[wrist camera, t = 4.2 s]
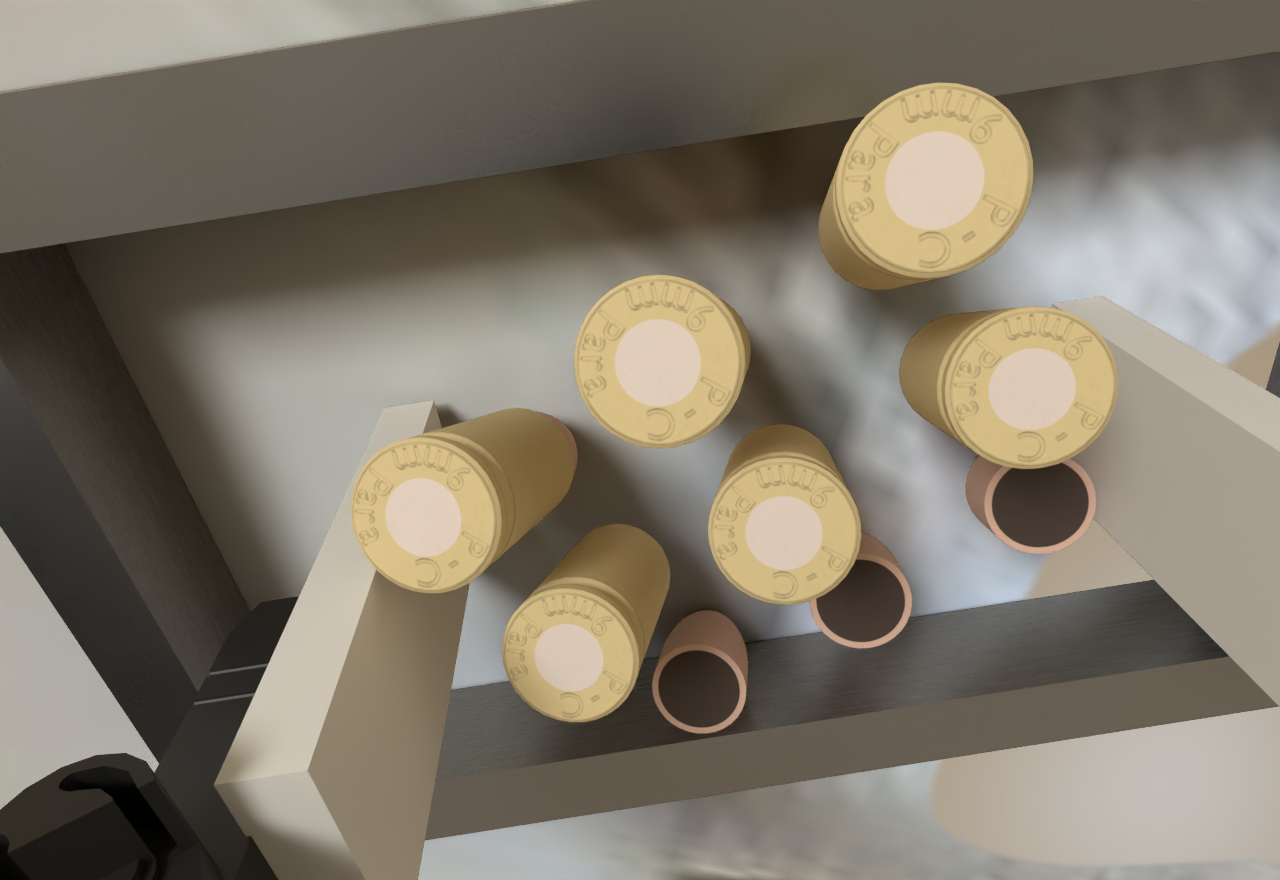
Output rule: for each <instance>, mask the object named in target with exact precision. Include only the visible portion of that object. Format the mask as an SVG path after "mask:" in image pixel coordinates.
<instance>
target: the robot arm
mask: <svg viewBox="0 0 1280 880" xmlns="http://www.w3.org/2000/svg"><path fill="white" fill-rule="evenodd" d="M1052 308H1055V309H1058V310H1062V311H1065V312H1068V313H1071V314H1073V315H1075V316H1077V317H1079V318H1080V319H1082V320H1084V321H1086V322H1087V323H1088V324H1089V325H1090V326H1092V327H1093V328H1094V329H1095V330H1096V331H1098V333H1099V334H1100V335H1101V337H1102V338H1103V339H1104V340H1105V342H1106V343H1107V344H1108V346H1109V348H1110V350H1111V353H1112V355H1113V357H1114V359H1115V363H1116V368H1117V372H1118V394H1117V399H1116V404H1115V408H1114V410H1113V413H1112V415H1111V417H1110V420H1109V422H1108V423H1107V425H1106V426H1105V428H1104V429H1103V431H1102V432H1101V434H1100V435H1099V436H1098V437H1097V438H1096V439H1095V440H1094V441H1093V442H1092V443H1091V444H1090V445H1089V446H1088V447H1087V448H1086V449H1084V450H1083V451H1081V452H1080V453H1078V454H1077V455H1075V456H1074V457H1072V458H1070V459H1071V460H1073V461H1075V462H1076V463H1077V464H1078V465H1080V466H1081V467H1082V468H1083V469H1084V470H1085V472H1086V473H1087V474H1088V475H1089V477H1090V479H1091V481H1092V483H1093V485H1094V489H1095V493H1096V509H1095V514H1094V517H1093V518H1094V519H1095V520H1096V521H1097V522H1098V523H1099V524H1100V525H1101V526H1102V527H1103V528H1104V529H1105V530H1106V531H1107V533H1108V534H1109V535H1111V537H1113V539H1114V540H1116V542H1117V543H1118V544H1119V545H1121V547H1122V548H1123V549H1124V550H1125V551H1126V552H1127V553H1128V554H1129V555H1130V556H1131V557H1132V558H1133V559H1134V560H1135V561H1136V562H1137V563H1138V564H1139V565H1140V566H1141V567H1142V568H1143V569H1144V570H1145V571H1146V572H1147V573H1148V574H1149V575H1150V576H1151V577H1152V578H1153V579H1154V580H1155V581H1156V582H1157V583H1158V584H1159V585H1160V586H1161V587H1162V588H1163V589H1164V590H1165V591H1166V592H1167V593H1168V594H1169V595H1170V596H1171V597H1172V598H1173V599H1174V600H1175V601H1176V602H1177V603H1178V604H1179V606H1180V607H1181V608H1182V609H1183V610H1184V611H1185V612H1186V613H1187V614H1188V615H1189V616H1190V617H1191V618H1192V619H1193V620H1194V621H1195V622H1196V623H1197V624H1198V625H1199V626H1200V627H1201V628H1202V629H1203V630H1204V631H1205V632H1206V633H1207V634H1208V635H1209V636H1210V637H1211V638H1212V639H1213V640H1214V641H1215V642H1216V643H1217V644H1218V645H1219V646H1220V647H1221V648H1222V649H1223V650H1224V651H1225V652H1226V653H1227V654H1228V655H1229V656H1230V657H1231V658H1232V659H1233V660H1234V661H1235V662H1236V663H1237V664H1238V665H1239V666H1240V667H1241V668H1242V669H1243V670H1244V671H1245V672H1246V673H1247V674H1248V675H1249V676H1250V677H1251V678H1252V679H1253V681H1254V682H1255V683H1256V684H1257V685H1258V686H1259V687H1260V688H1261V689H1262V690H1263V691H1264V692H1265V693H1266V694H1267V695H1268V696H1269V697H1270V698H1271V699H1272V700H1273V701H1274V702H1275V703H1276V704H1277V705H1278V706H1280V398H1279V397H1277V396H1275V395H1274V394H1272V393H1270V392H1268V391H1267V390H1265V389H1263V388H1261V387H1260V386H1258V385H1256V384H1254V383H1253V382H1251V381H1249V380H1247V379H1246V378H1244V377H1242V376H1241V375H1239V374H1237V373H1235V372H1233V371H1232V370H1230V369H1228V368H1227V367H1225V366H1223V365H1221V364H1220V363H1218V362H1216V361H1214V360H1213V359H1211V358H1209V357H1208V356H1206V355H1204V354H1202V353H1201V352H1199V351H1197V350H1195V349H1194V348H1192V347H1190V346H1188V345H1187V344H1185V343H1183V342H1181V341H1180V340H1178V339H1176V338H1175V337H1173V336H1171V335H1169V334H1168V333H1166V332H1164V331H1162V330H1161V329H1159V328H1157V327H1155V326H1154V325H1152V324H1150V323H1148V322H1147V321H1145V320H1143V319H1142V318H1140V317H1138V316H1136V315H1135V314H1133V313H1131V312H1129V311H1128V310H1126V309H1124V308H1122V307H1121V306H1119V305H1117V304H1115V303H1114V302H1112V301H1110V300H1109V299H1107V298H1105V297H1103V296H1098V297H1092V298H1085V299H1079V300H1073V301H1066V302H1060V303H1054V304H1052ZM441 428H442V426H441V423H440V419H439V416H438V413H437V409H436V406H435V403H434V400H433V401H427V402H421V403H414V404H408V405H402V406H395V407H389V408H384V410H383V413H382V415H381V417H380V419H379V421H378V424H377V426H376V428H375V430H374V432H373V435H372V437H371V439H370V441H369V443H368V446H367V448H366V450H365V452H364V454H363V457H362V459H361V461H360V463H359V465H358V468H357V470H356V472H355V474H354V476H353V479H352V481H351V483H350V485H349V488H348V490H347V492H346V494H345V496H344V499H343V501H342V503H341V505H340V507H339V510H338V512H337V514H336V516H335V518H334V521H333V523H332V525H331V527H330V529H329V532H328V534H327V536H326V538H325V540H324V543H323V545H322V547H321V549H320V551H319V554H318V556H317V558H316V560H315V562H314V565H313V567H312V569H311V571H310V574H309V576H308V578H307V580H306V582H305V585H304V587H303V589H302V591H301V593H300V596H298V597H292V598H285V599H279V600H273V601H266V602H261V603H260V604H259V605H258V606H257V607H256V608H255V609H254V610H253V611H252V612H251V613H250V614H249V615H248V616H247V617H246V618H245V619H244V620H243V621H242V622H241V623H240V624H239V625H238V626H237V627H236V628H235V629H234V630H233V631H232V632H231V633H230V634H229V635H228V637H227V639H226V640H225V642H224V644H223V646H222V648H221V650H220V652H219V653H218V655H217V657H216V659H215V661H214V663H213V665H212V667H211V668H210V670H209V671H210V677H206V678H205V680H204V681H203V683H202V685H201V687H200V689H199V691H198V693H197V695H196V696H195V698H194V707H192V708H189V709H188V711H187V713H186V715H185V717H184V719H183V721H182V722H181V724H180V726H179V728H178V730H177V732H176V734H175V736H174V737H173V739H172V741H171V743H170V745H169V747H168V749H167V750H166V752H165V754H164V756H163V758H162V760H161V762H160V764H159V765H158V767H157V769H156V771H155V773H154V772H153V771H152V769H151V768H150V766H149V765H148V763H147V762H146V761H144V760H141V759H139V758H137V757H134V756H132V755H129V754H127V753H119V754H106V755H95V756H93V757H90V758H87V759H84V760H81V761H79V762H76V763H73V764H70V765H67V766H64V767H62V768H60V769H58V770H56V771H55V772H53V773H51V774H50V775H48V776H46V777H45V778H43V779H41V780H39V781H38V782H36V783H34V784H33V785H31V786H29V787H28V788H26V789H24V790H23V791H22V792H21V793H20V794H18V795H17V796H16V797H15V798H14V799H13V800H11V801H10V802H9V803H8V804H7V805H5V806H4V807H3V808H2V809H1V810H0V880H418V876H419V870H420V864H421V858H422V853H423V847H424V841H425V836H426V830H427V824H428V818H429V813H430V807H431V801H432V796H433V790H434V784H435V778H436V773H437V767H438V761H439V756H440V750H441V744H442V739H443V733H444V727H445V721H446V716H447V710H448V704H449V699H450V693H451V687H452V681H453V676H454V670H455V664H456V659H457V653H458V647H459V641H460V636H461V630H462V624H463V619H464V613H465V607H466V601H467V596H468V590H469V584H470V583H469V584H466V585H464V586H462V587H460V588H458V589H456V590H452V591H448V592H444V593H422V592H416V591H412V590H409V589H406V588H403V587H401V586H398V585H397V584H395V583H393V582H392V581H390V580H388V579H387V578H385V577H384V576H383V575H382V574H381V573H380V572H379V571H377V570H376V569H375V568H374V567H373V565H372V564H371V563H370V562H369V560H368V559H367V558H366V557H365V555H364V553H363V551H362V550H361V548H360V546H359V544H358V542H357V539H356V536H355V533H354V530H353V526H352V519H351V498H352V493H353V489H354V485H355V482H356V480H357V478H358V476H359V474H360V472H361V470H362V469H363V467H364V466H365V465H366V463H367V462H368V461H369V459H370V458H371V457H373V456H374V455H375V454H376V453H377V452H378V451H379V450H381V449H382V448H384V447H386V446H388V445H390V444H392V443H393V442H397V441H400V440H403V439H407V438H410V437H413V436H417V435H420V434H424V433H427V432H430V431H434V430H437V429H441Z"/></svg>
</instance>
